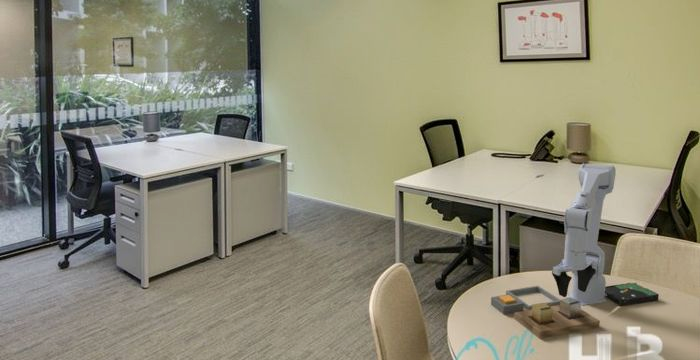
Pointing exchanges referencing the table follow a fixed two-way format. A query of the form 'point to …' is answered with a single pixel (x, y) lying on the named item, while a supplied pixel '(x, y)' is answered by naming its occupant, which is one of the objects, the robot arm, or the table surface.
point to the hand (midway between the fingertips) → (572, 293)
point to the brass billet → (542, 313)
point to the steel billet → (570, 308)
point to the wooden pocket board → (556, 323)
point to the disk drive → (629, 294)
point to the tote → (530, 290)
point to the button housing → (507, 305)
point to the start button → (507, 299)
